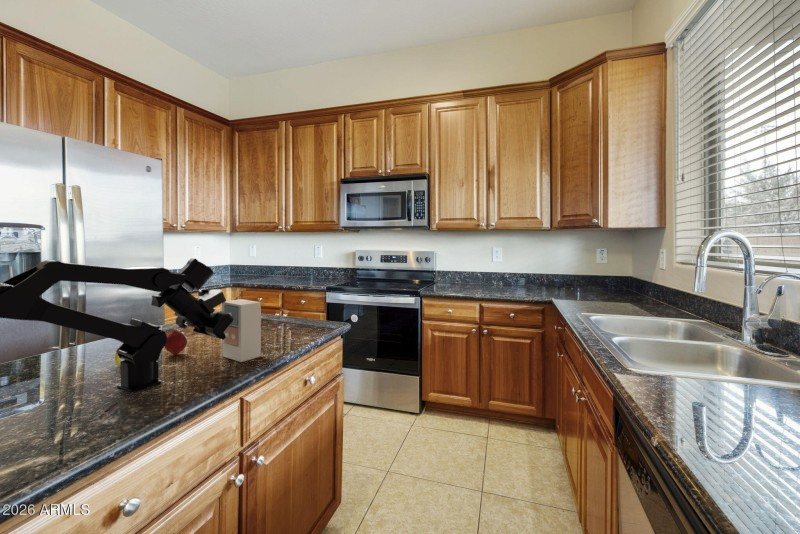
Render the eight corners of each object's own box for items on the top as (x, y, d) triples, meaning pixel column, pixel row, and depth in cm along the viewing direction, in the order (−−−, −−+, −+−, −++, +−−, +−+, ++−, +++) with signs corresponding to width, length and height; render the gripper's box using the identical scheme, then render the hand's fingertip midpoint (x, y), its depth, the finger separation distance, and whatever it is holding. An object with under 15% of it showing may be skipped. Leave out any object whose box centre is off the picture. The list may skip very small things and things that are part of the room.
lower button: (236, 346, 103) (236, 328, 103) (223, 342, 106) (223, 325, 106) (244, 343, 105) (244, 327, 105) (232, 340, 109) (232, 324, 108)
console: (241, 362, 103) (241, 305, 102) (222, 356, 108) (221, 301, 107) (260, 356, 109) (260, 302, 107) (241, 351, 113) (241, 299, 112)
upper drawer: (236, 325, 103) (236, 307, 102) (223, 322, 106) (223, 305, 105) (244, 323, 105) (244, 306, 105) (232, 320, 108) (232, 304, 108)
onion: (191, 352, 111) (191, 326, 110) (178, 358, 105) (177, 331, 104) (173, 351, 111) (173, 325, 111) (159, 357, 105) (159, 330, 105)
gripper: (227, 283, 93) (262, 319, 103) (187, 278, 102) (223, 311, 112) (196, 318, 86) (237, 353, 96) (156, 309, 96) (197, 341, 106)
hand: (224, 337), depth 103 cm, fingers closed
